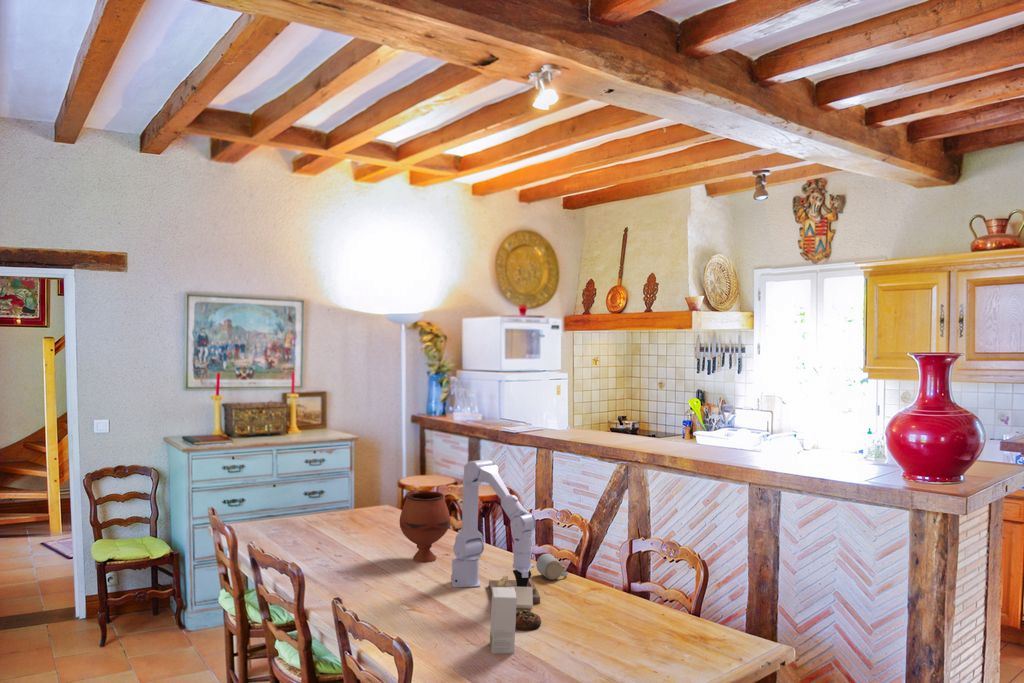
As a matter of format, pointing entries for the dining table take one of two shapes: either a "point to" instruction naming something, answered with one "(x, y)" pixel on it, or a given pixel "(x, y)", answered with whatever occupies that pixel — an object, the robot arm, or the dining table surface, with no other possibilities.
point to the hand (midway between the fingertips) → (521, 593)
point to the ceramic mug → (550, 567)
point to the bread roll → (527, 620)
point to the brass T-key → (503, 581)
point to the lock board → (513, 584)
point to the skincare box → (503, 620)
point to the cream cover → (524, 597)
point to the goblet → (424, 522)
